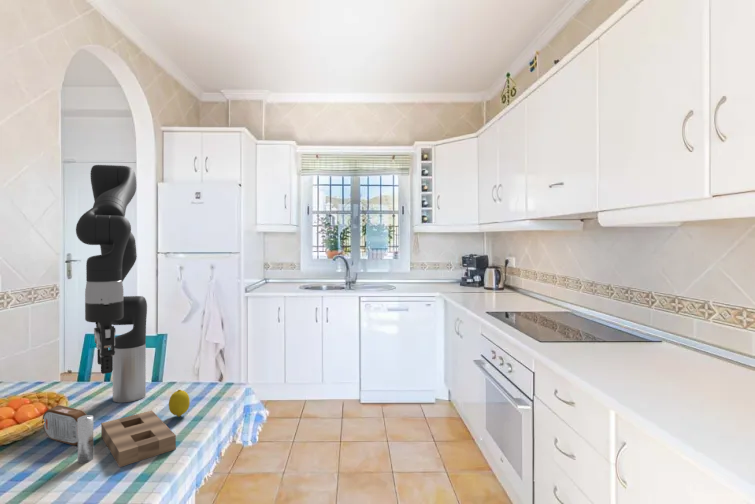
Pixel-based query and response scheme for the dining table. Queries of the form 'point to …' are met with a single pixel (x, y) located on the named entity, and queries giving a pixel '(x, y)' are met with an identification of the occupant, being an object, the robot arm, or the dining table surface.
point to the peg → (85, 438)
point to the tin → (62, 424)
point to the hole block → (137, 437)
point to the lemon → (179, 403)
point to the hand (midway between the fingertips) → (104, 368)
